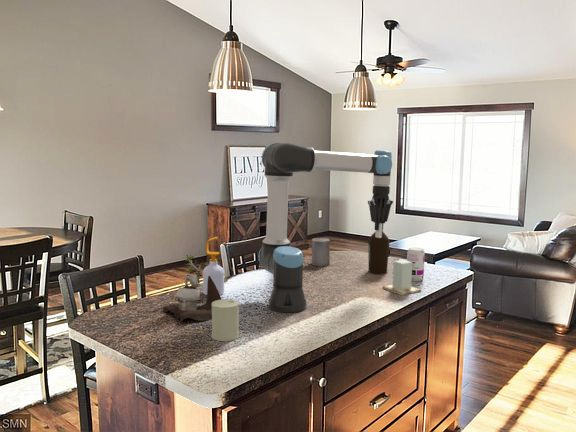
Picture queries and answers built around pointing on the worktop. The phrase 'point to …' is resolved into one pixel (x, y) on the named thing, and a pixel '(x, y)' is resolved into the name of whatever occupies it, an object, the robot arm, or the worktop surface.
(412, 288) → the post base
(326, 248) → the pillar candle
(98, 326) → the worktop surface
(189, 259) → the potted plant
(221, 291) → the soap bottle
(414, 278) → the supplement can
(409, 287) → the tall mint green block
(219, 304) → the can
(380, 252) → the olive oil
